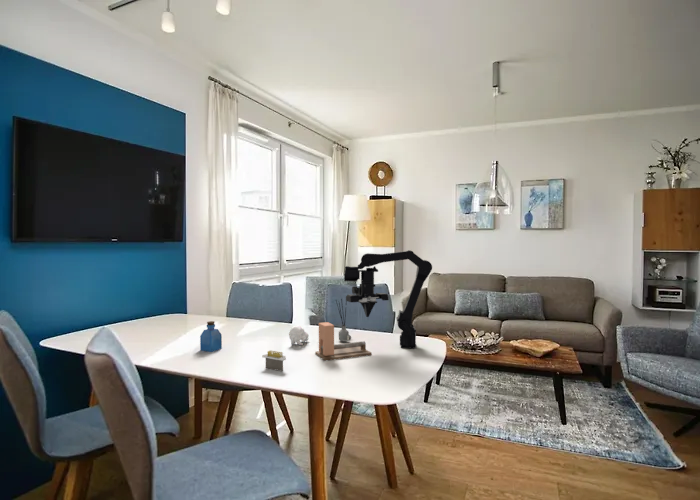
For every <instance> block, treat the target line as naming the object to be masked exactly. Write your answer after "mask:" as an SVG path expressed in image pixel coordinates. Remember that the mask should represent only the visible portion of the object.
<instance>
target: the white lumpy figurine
mask: <svg viewBox="0 0 700 500" xmlns="http://www.w3.org/2000/svg"><path fill="white" fill-rule="evenodd" d="M288 336H289V340H290V343H291V345H292V346H294V345H295V344H297V345H298V346H304V344H303V342H308V340H309V333H308V332H307V331H305V329H304V328H303V327H302V326H300V325H294V326H292V328H291V329H290V330H289V333H288Z"/></svg>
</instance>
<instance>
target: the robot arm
mask: <svg viewBox="0 0 700 500" xmlns="http://www.w3.org/2000/svg"><path fill="white" fill-rule="evenodd" d="M403 260H404V261H405V260H409V261H410V262H411V263H412V264H414V265H415V266H417V267H416V272H415V273H416V274H415V280H414V282H413V285H412V288H411V289H410V293H409V294H408V295H409V296H408V297H407V301H406V303H405V306H404V308H403V310H401V309H399V310H398V315H397V317H396V323H397V324H396V325H397V327H398V329H399V330H401V333H400V335H399V346H400V348H402V349H417V341H416V340H417V337H416V336H417V333H416V331H417V329H416V327H415V325H414V324H412V323H413V315H414V310H415V308H416V304H417V302H418V299H419V297H420V294H421V292H422V289H423V286H424V283H425V281H426V280H427V279H428V277H429V276H430V274H431V272H432V270H433V264H432V263H431V262H430V261H429V260H427V259H422V258H421V257H420V256H418V255H417V254H416V253H415V252H414V251H412V250H405V251H396V252H388V253H387V252H386V253H369V252H368V253H365V254H363V255H362V256H361V259H360V263H359V264H358V265H357V266H348V265H345V266H344V273H343V274H344V275H343V276H344V278H343V280H344V282H354V283H355V282H356V283H357V282H358V280H360V283H359V287H358V286H356V285H355V286H352V287H351V293H352V294H350V293H349V294H347V295H345V302H346V301H347V302H348V303H359V304H360V305H361V306H362V309H363V312H364V315H365V317H367V318H369V317H370V315H371V313H372V311H373V309H374V307H375V305H376V304H377V303H378V301H377V300H380V299H381V300H382V301H389V299H390V297H389V294H388V293H385V292H376V293H375V287H376V284H375V273H377V272H379V269H378V268H377V267H376V266H377V265H378V264H382V263H387V262H388V263H390V262H397V261H398V262H399V261H403ZM364 268H365V269H364ZM360 278H361V279H360Z"/></svg>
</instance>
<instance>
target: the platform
mask: <svg viewBox="0 0 700 500" xmlns="http://www.w3.org/2000/svg"><path fill="white" fill-rule="evenodd" d="M283 354H284V353H283V352H282V351H276V350H268V351H267V353H266V354H263V355H262V358H264V359H265V369H271V370H275V369H276V370H277V371H280V370H281V372H283V371H284V361H286V360H287V356H286V355H283ZM276 370H275V371H276Z"/></svg>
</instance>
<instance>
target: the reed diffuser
mask: <svg viewBox="0 0 700 500" xmlns="http://www.w3.org/2000/svg"><path fill="white" fill-rule="evenodd" d="M340 301H341V302H338V301H337V300H335V302H336V306H337V309H338V312H339V315H340V319H341V329H340V330H339V331H338V341H341V342H347V341H349V340H351V339H352V336H351V335H350V334H349V330H348V329H346V327H347V326H346V322H344V320H345V319H346V314H347V308H344V306H343V305H341V304H340V303H343V300H342V298H341V299H340ZM347 302H348V301H346V300H345V304H347ZM340 307H341V308H340ZM341 309H342V311H341ZM344 309H345V313H342V312H344Z"/></svg>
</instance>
